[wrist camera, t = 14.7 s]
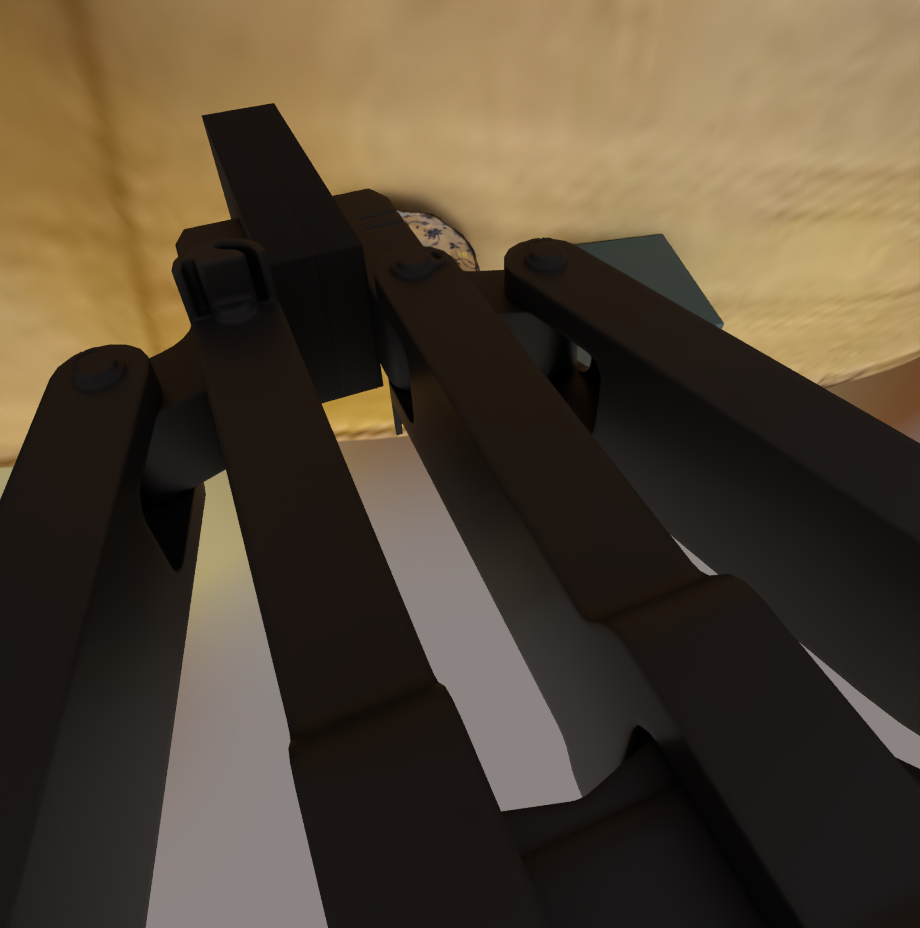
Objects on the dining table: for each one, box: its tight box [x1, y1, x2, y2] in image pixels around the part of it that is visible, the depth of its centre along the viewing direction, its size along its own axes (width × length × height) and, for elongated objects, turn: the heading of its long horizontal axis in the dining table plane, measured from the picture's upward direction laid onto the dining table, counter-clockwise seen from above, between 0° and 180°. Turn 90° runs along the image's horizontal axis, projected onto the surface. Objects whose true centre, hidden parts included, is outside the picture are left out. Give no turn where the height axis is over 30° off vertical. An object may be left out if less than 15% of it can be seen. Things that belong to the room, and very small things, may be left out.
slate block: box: [576, 234, 724, 367], centre depth 47 cm, size 8×8×9 cm
